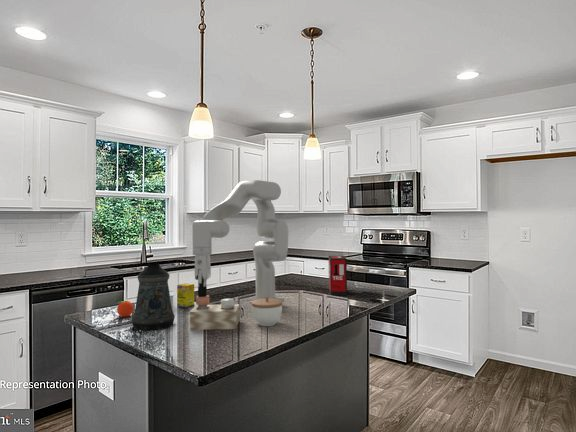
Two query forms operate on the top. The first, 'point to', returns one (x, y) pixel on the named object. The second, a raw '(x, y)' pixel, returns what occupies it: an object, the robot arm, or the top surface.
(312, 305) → the top surface
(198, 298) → the terracotta button
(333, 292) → the cleaning product box
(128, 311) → the clementine
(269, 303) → the lidded bowl
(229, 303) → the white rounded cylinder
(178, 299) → the supplement box
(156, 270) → the beer stein
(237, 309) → the button box
